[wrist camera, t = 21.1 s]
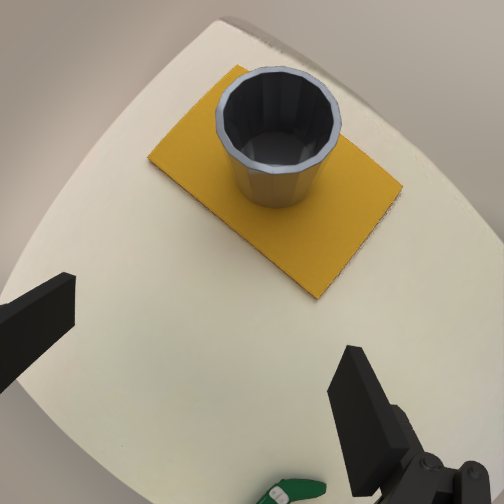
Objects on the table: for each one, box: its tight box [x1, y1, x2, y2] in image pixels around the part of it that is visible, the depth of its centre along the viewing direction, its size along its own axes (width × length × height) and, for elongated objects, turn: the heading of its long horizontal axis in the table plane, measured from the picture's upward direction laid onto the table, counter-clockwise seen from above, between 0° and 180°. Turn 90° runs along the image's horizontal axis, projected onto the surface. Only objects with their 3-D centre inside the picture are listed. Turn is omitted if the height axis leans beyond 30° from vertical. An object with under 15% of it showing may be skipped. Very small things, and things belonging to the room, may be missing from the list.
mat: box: [147, 64, 403, 299], centre depth 28 cm, size 20×13×1 cm, turn 50°
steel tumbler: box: [215, 66, 342, 209], centre depth 23 cm, size 7×7×10 cm
